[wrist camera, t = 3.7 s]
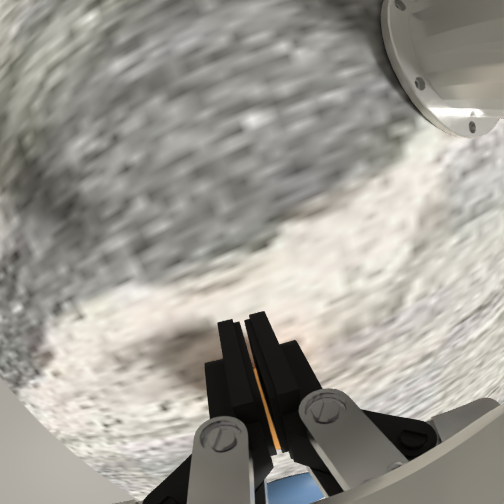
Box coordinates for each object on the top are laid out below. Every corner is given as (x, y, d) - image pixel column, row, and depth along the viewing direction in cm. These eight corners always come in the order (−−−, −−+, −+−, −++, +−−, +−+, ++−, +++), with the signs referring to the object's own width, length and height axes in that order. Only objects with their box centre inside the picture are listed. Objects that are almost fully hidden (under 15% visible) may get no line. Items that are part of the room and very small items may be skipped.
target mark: (236, 487, 27) (236, 489, 27) (344, 460, 28) (344, 461, 28) (255, 515, 32) (255, 516, 31) (339, 493, 33) (339, 494, 32)
